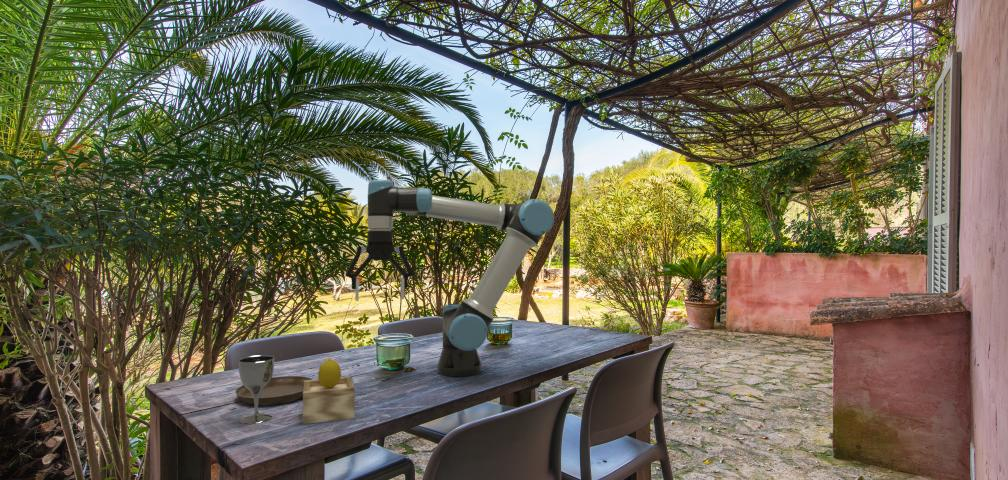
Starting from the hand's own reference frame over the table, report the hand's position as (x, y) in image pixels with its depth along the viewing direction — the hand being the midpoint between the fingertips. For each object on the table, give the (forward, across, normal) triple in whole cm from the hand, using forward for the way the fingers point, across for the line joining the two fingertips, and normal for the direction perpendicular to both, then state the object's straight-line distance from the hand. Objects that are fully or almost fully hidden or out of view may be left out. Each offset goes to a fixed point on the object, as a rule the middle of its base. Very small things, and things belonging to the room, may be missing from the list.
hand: (380, 299), depth 151 cm
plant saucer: (+27, +29, -1) cm, 40 cm away
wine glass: (+27, +32, +18) cm, 46 cm away
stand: (+27, +15, +20) cm, 37 cm away
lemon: (+21, +15, +20) cm, 32 cm away
